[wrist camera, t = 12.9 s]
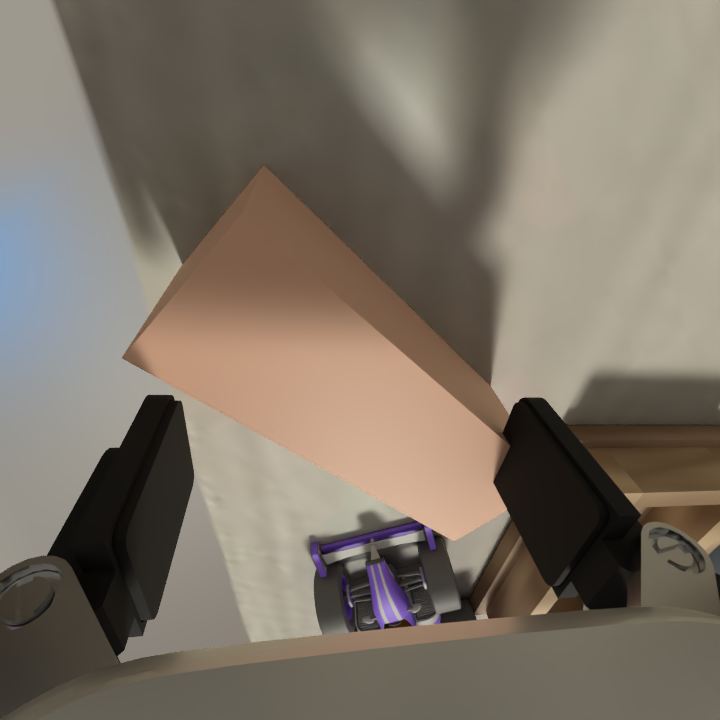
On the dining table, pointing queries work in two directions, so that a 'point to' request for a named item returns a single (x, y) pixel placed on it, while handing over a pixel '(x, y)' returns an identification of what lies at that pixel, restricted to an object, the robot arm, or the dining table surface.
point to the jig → (643, 489)
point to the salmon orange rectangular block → (327, 362)
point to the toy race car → (386, 584)
